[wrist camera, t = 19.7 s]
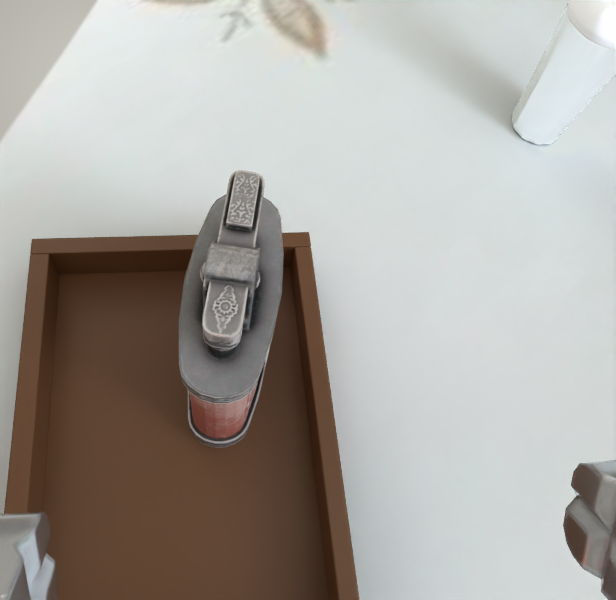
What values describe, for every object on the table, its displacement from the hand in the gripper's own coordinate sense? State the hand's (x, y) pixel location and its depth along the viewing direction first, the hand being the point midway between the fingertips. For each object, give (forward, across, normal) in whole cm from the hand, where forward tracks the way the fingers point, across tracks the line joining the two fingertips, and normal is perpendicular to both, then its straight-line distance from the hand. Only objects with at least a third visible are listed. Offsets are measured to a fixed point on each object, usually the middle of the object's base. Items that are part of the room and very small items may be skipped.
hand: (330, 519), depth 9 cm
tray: (+15, -3, -8) cm, 18 cm away
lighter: (+18, -1, -6) cm, 18 cm away
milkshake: (+28, +19, +4) cm, 35 cm away
